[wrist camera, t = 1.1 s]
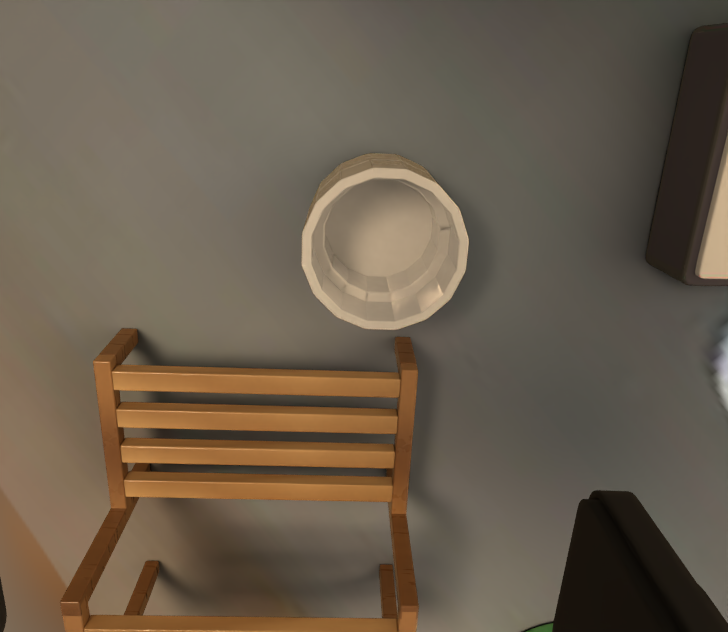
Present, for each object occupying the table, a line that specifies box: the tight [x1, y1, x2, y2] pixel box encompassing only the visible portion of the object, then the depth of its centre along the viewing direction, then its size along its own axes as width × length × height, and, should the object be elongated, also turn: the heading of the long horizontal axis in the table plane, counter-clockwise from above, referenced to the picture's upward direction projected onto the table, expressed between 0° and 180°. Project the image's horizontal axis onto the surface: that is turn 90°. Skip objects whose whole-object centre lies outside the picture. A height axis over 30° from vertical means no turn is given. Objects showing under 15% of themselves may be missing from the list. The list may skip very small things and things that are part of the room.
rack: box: [60, 328, 419, 632], centre depth 31 cm, size 16×15×10 cm
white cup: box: [302, 153, 469, 330], centre depth 28 cm, size 7×7×6 cm
